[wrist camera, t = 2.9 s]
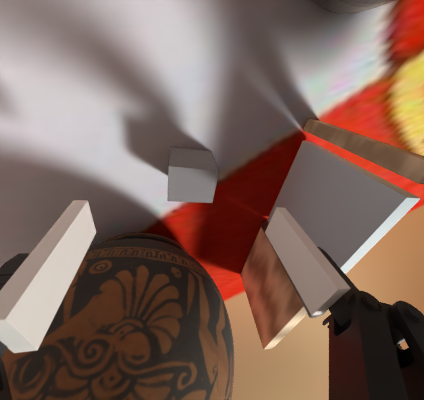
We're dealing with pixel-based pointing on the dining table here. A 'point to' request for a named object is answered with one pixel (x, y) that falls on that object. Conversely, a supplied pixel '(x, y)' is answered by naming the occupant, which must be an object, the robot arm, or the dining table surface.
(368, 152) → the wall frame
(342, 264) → the door
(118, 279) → the vase
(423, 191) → the dining table surface
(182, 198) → the grey short block
